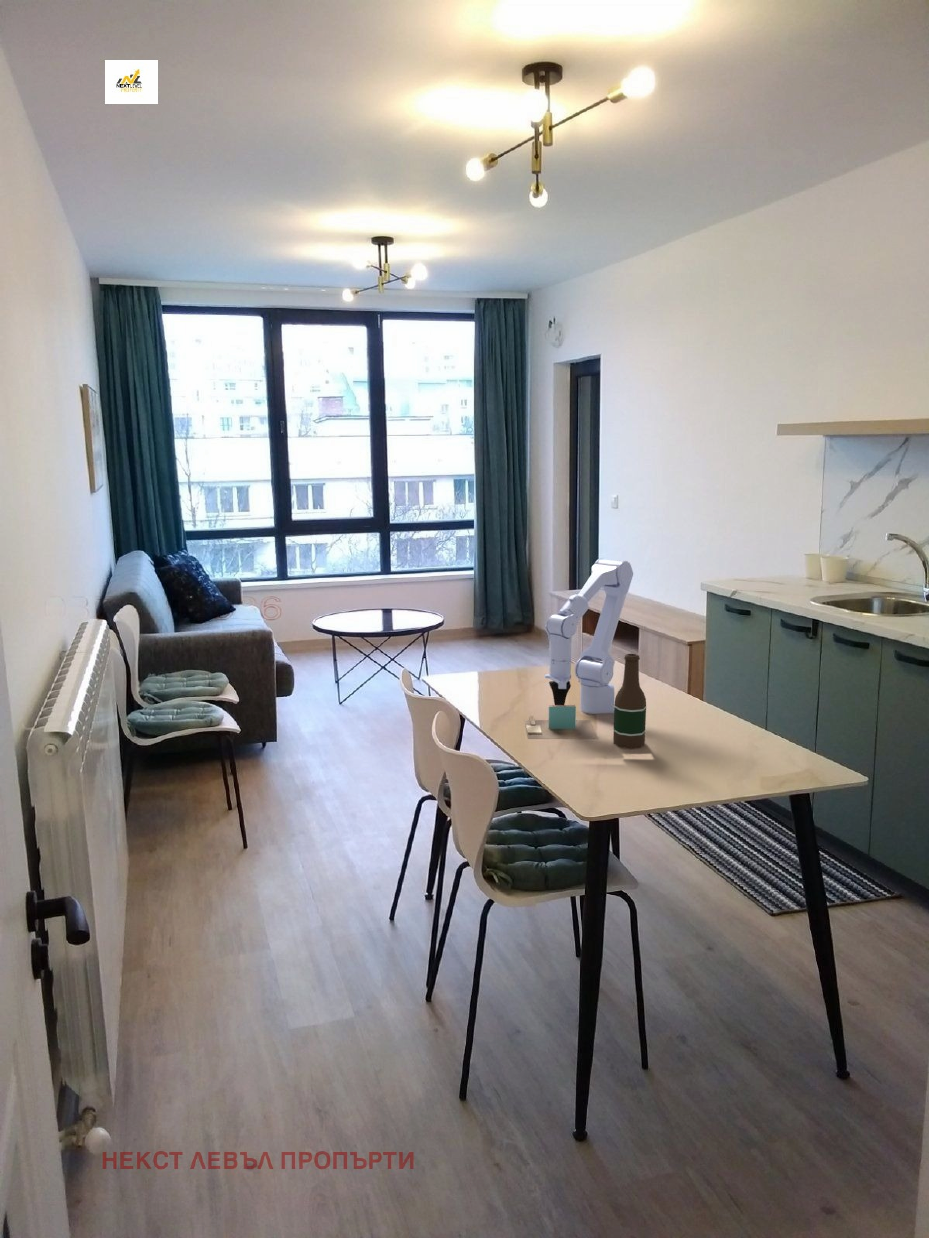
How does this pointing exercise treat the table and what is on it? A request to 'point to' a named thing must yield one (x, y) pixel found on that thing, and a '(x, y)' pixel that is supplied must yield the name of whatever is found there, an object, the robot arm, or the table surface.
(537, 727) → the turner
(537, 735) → the board
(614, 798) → the table surface
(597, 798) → the table surface
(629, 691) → the beer bottle
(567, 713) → the tile
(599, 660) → the robot arm
